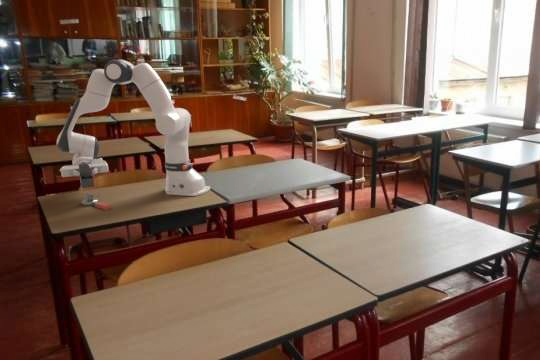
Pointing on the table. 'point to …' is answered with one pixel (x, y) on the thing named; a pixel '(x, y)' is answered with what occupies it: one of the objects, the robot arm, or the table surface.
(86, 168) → the socket
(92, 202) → the ratchet
